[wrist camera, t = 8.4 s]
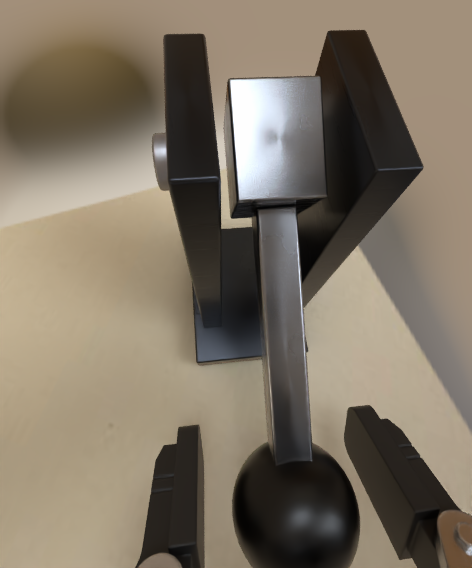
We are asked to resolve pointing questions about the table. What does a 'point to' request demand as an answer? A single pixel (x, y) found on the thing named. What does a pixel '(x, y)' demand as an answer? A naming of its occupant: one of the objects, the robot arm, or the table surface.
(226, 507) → the table surface
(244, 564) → the table surface
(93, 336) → the table surface
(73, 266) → the table surface
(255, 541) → the lever
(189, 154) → the bracket
